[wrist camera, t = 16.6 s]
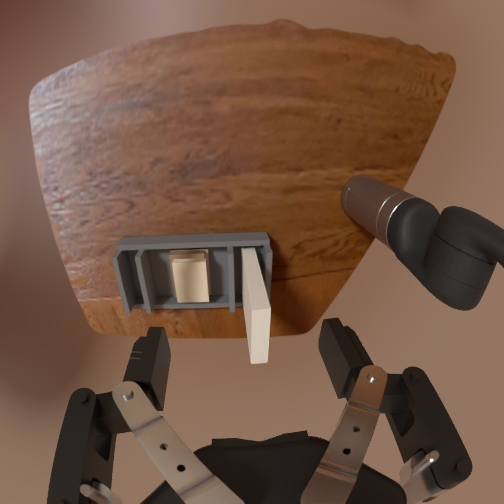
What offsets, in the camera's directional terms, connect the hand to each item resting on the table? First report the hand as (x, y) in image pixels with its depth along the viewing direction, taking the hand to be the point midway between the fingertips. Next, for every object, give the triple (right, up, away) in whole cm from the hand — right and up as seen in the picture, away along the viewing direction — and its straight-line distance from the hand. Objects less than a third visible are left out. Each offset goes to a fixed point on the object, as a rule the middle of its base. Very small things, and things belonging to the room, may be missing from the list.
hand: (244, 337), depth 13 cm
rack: (-11, +1, +40) cm, 42 cm away
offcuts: (-11, +1, +39) cm, 41 cm away
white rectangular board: (-1, +1, +41) cm, 41 cm away
